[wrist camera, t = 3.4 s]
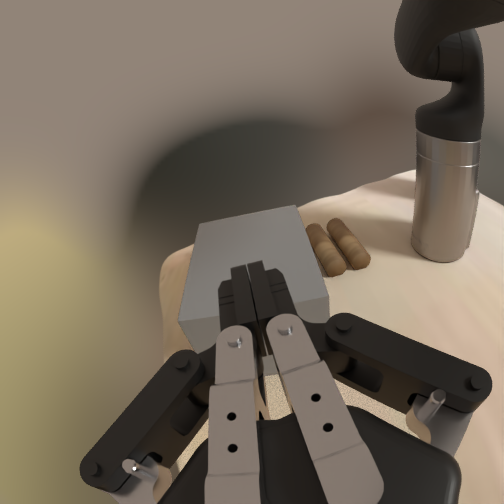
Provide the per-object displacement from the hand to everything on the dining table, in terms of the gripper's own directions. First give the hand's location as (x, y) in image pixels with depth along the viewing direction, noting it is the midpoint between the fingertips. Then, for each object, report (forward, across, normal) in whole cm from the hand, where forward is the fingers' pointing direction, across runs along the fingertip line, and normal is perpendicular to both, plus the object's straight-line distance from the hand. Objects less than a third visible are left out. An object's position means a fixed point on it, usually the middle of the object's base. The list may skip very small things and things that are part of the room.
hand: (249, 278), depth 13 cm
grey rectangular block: (+13, 0, +17) cm, 22 cm away
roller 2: (+22, -14, +17) cm, 31 cm away
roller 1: (+22, -10, +17) cm, 30 cm away
